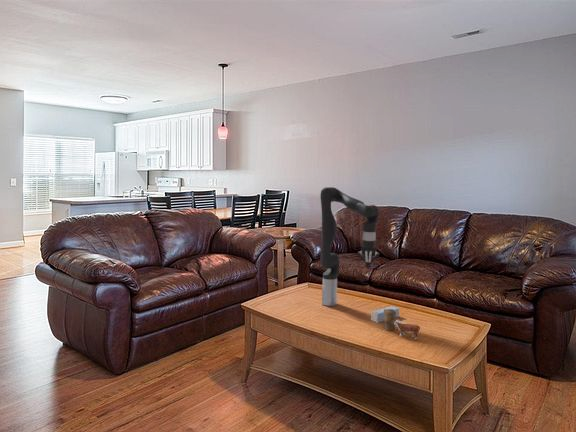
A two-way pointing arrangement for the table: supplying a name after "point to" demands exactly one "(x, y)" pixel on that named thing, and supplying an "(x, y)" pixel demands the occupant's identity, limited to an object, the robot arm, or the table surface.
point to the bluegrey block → (382, 314)
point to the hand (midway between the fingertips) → (367, 268)
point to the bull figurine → (407, 328)
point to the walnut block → (389, 319)
